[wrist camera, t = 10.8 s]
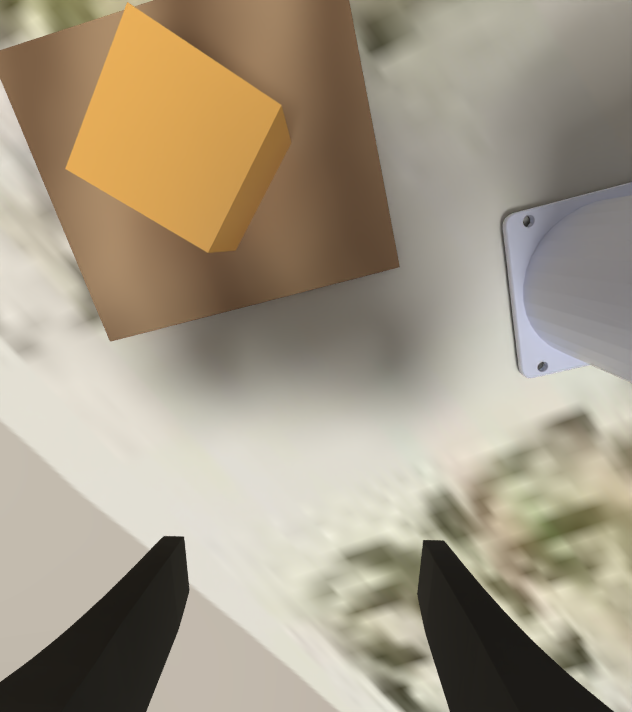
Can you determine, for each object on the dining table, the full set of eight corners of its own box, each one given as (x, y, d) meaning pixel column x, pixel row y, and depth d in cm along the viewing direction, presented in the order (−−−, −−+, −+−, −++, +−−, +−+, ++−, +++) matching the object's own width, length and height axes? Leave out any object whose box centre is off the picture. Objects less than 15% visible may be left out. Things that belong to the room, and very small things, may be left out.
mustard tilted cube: (181, 70, 15) (127, 2, 11) (291, 142, 16) (281, 105, 12) (131, 188, 16) (65, 168, 12) (235, 250, 17) (207, 252, 13)
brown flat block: (336, -41, 15) (342, -138, 11) (395, 265, 18) (415, 271, 14) (9, 64, 16) (-88, 8, 12) (120, 336, 19) (71, 359, 15)
